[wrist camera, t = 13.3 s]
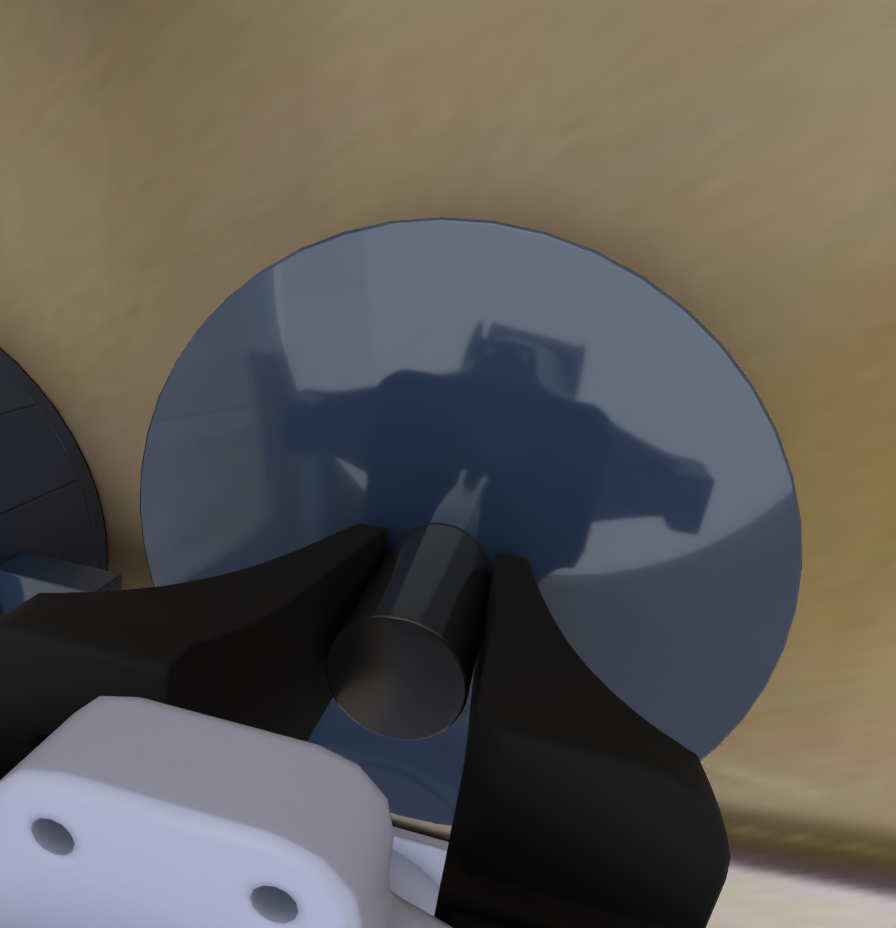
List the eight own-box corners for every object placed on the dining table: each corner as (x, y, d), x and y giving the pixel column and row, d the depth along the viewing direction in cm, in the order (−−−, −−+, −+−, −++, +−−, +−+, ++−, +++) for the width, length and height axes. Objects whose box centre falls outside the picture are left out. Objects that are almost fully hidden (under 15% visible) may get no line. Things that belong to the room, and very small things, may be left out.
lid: (679, 854, 16) (723, 1085, 11) (172, 718, 17) (40, 870, 13) (896, 281, 11) (1121, 293, 6) (161, 176, 13) (-55, 129, 8)
